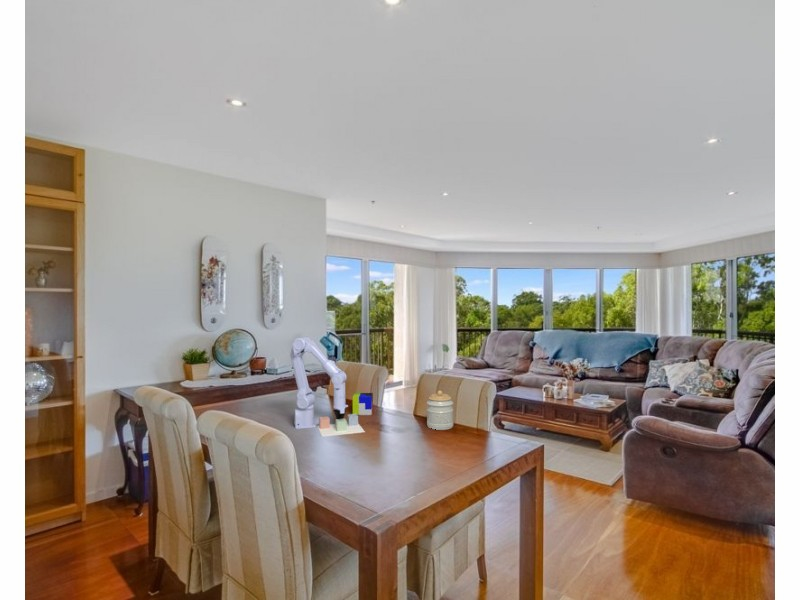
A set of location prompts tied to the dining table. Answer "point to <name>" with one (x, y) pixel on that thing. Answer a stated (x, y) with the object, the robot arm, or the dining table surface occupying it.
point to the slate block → (352, 419)
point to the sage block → (341, 425)
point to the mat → (333, 431)
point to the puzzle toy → (363, 403)
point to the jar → (440, 411)
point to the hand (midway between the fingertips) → (339, 424)
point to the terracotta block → (324, 422)
